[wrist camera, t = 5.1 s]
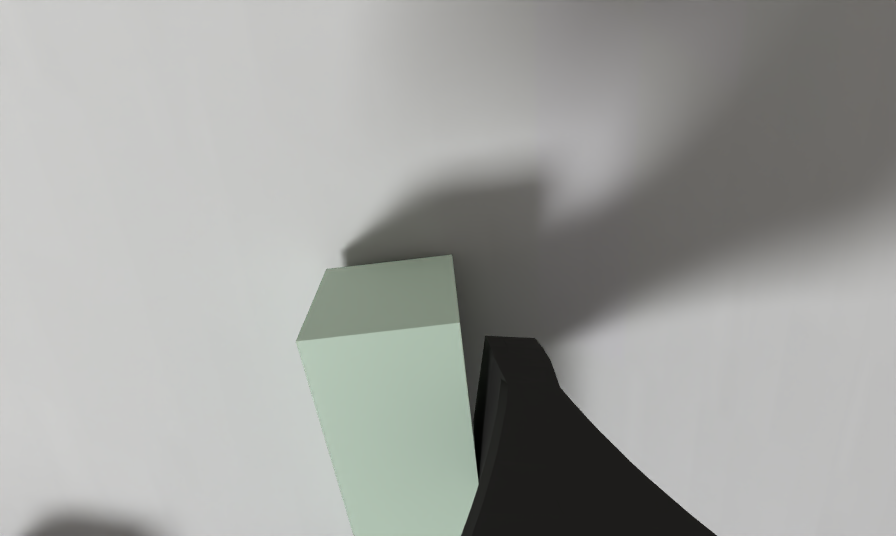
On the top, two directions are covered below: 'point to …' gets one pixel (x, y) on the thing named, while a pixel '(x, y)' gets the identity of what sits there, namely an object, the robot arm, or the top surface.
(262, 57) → the top surface
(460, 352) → the pale green bar
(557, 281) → the top surface
